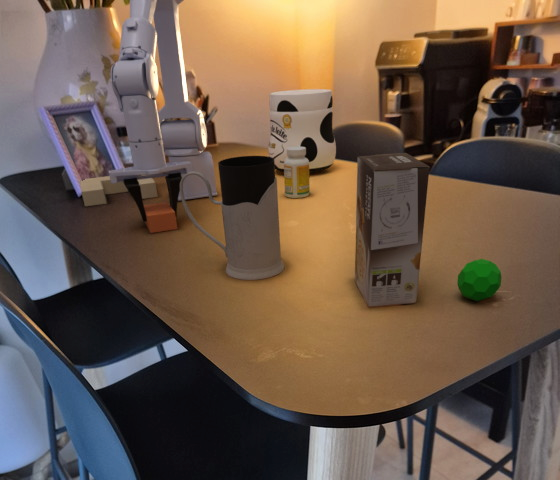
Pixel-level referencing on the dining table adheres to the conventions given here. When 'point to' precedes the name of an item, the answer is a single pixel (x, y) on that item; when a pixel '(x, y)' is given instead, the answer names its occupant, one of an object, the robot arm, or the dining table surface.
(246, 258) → the glass holder
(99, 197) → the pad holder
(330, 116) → the milk container
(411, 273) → the coffee box
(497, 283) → the polyhedron
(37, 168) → the dining table surface
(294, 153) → the supplement bottle
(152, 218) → the terracotta block
